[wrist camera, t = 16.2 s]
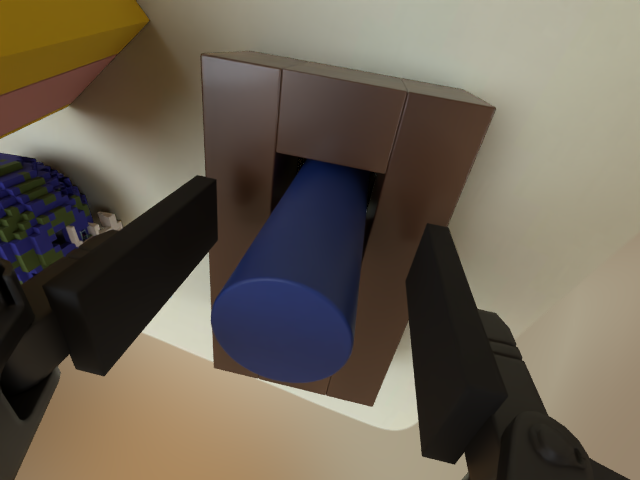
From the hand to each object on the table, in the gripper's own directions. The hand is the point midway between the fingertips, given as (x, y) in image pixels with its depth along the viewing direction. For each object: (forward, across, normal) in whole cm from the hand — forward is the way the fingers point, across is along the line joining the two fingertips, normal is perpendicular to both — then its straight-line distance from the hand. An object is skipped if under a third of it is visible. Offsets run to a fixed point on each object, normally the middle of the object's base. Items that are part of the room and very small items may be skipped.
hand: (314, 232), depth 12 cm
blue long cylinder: (+7, 0, 0) cm, 7 cm away
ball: (+7, -18, -6) cm, 20 cm away
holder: (+7, 0, -4) cm, 8 cm away
